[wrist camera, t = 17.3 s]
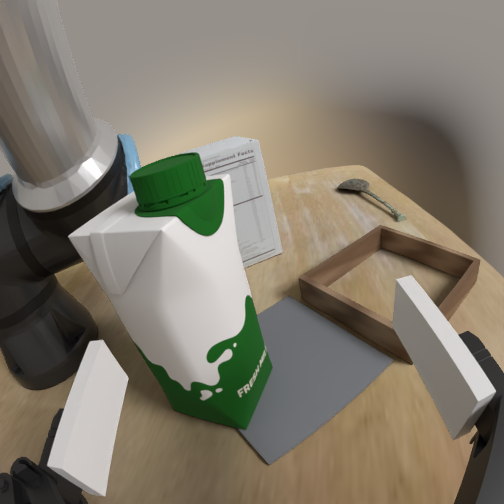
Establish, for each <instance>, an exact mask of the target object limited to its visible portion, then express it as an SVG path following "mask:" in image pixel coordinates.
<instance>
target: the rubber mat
mask: <svg viewBox="0 0 504 504" xmlns="http://www.w3.org/2000/svg"><path fill="white" fill-rule="evenodd" d="M257 318H258V322H259V326H260V329H261V333H262V337H263V340H264V343H265V346H266V349H267V352H268V355H269V358H270V361H271V363H272V366H273V368H272V371H271V373H270V376H269V378H268V380H267V383H266V385H265V388H264V390H263V392H262V395H261V397H260V400H259V402H258V404H257V407H256V409H255V411H254V414H253V416H252V418H251V420H250V423H249V425H248V427H247V430H244V429H240V428H237V429H238V430H239V431H240V432H241V434H242V435H243V436H244V437H245V438H246V439H247V441H248V442H249V443H250V444H251V445H252V446H253V448H254V449H255V450H256V451H257V452H258V453H259V454H260V455H261V457H262V458H263V459H264V460H265V461H266V462H267V463H268V464H269V465H270V464H271V463H273V462H274V461H276V460H277V459H279V458H280V457H282V456H283V455H284V454H286V453H287V452H289V451H290V450H291V449H293V448H294V447H295V446H297V445H298V444H300V443H301V442H302V441H304V440H305V439H306V438H307V437H309V436H310V435H311V434H313V433H314V432H315V431H316V430H318V429H319V428H320V427H321V426H323V425H324V424H325V423H326V422H328V421H329V420H330V419H331V418H332V417H334V416H335V415H336V414H337V413H338V412H340V411H341V410H342V409H343V408H344V407H345V406H346V405H348V404H349V403H350V402H351V401H352V400H353V399H354V398H356V397H357V396H358V395H359V394H360V393H361V392H362V391H363V390H364V389H365V388H366V387H367V386H369V385H370V384H371V383H372V382H373V381H374V380H375V379H376V378H377V377H378V376H379V375H380V374H381V373H382V372H383V371H384V370H385V369H386V368H387V367H388V366H389V365H390V364H391V363H392V362H393V359H391V358H390V357H388V356H386V355H385V354H383V353H381V352H380V351H378V350H377V349H375V348H373V347H372V346H370V345H368V344H367V343H365V342H363V341H362V340H360V339H358V338H357V337H355V336H354V335H352V334H350V333H349V332H347V331H345V330H344V329H342V328H341V327H339V326H337V325H336V324H334V323H332V322H331V321H329V320H328V319H326V318H324V317H323V316H321V315H319V314H318V313H316V312H315V311H313V310H311V309H310V308H308V307H307V306H305V305H303V304H302V303H300V302H299V301H297V300H295V299H294V298H292V297H291V296H288V297H286V298H284V299H283V300H281V301H280V302H278V303H276V304H275V305H273V306H272V307H270V308H268V309H267V310H265V311H263V312H262V313H260V314H259V315H257Z"/></svg>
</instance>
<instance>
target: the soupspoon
mask: <svg viewBox="0 0 504 504" xmlns="http://www.w3.org/2000/svg"><path fill="white" fill-rule="evenodd" d="M368 186H369V183H368V182H367V181H365V180H362V179H350V180H347V181H345V182H343V183H342V184H340V185H339V186H338V187H337V189H338V188H344V189H352V190H358V191H362V192H364V193H367V194H368V195H370V196H372V197H373V198H375V199H376V200H378V201H379V202H381V203H382V204H384V205H385V206H386V207H388V208H389V209H390V210H391V212H392V213H394V215H395V216H396V218H397V222H400V221H404V220H406V215H404V214H403V215H402V214H400V213H399V212H398V211H396V209H395V208H393V207H392V206H390V205H389V204H388V203H387V202H385V201H384V200H382V199H381V198H379V197H378V196H376V195H375V194H373V193H372V192H370V191H368V190H366V189H367V188H368Z"/></svg>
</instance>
